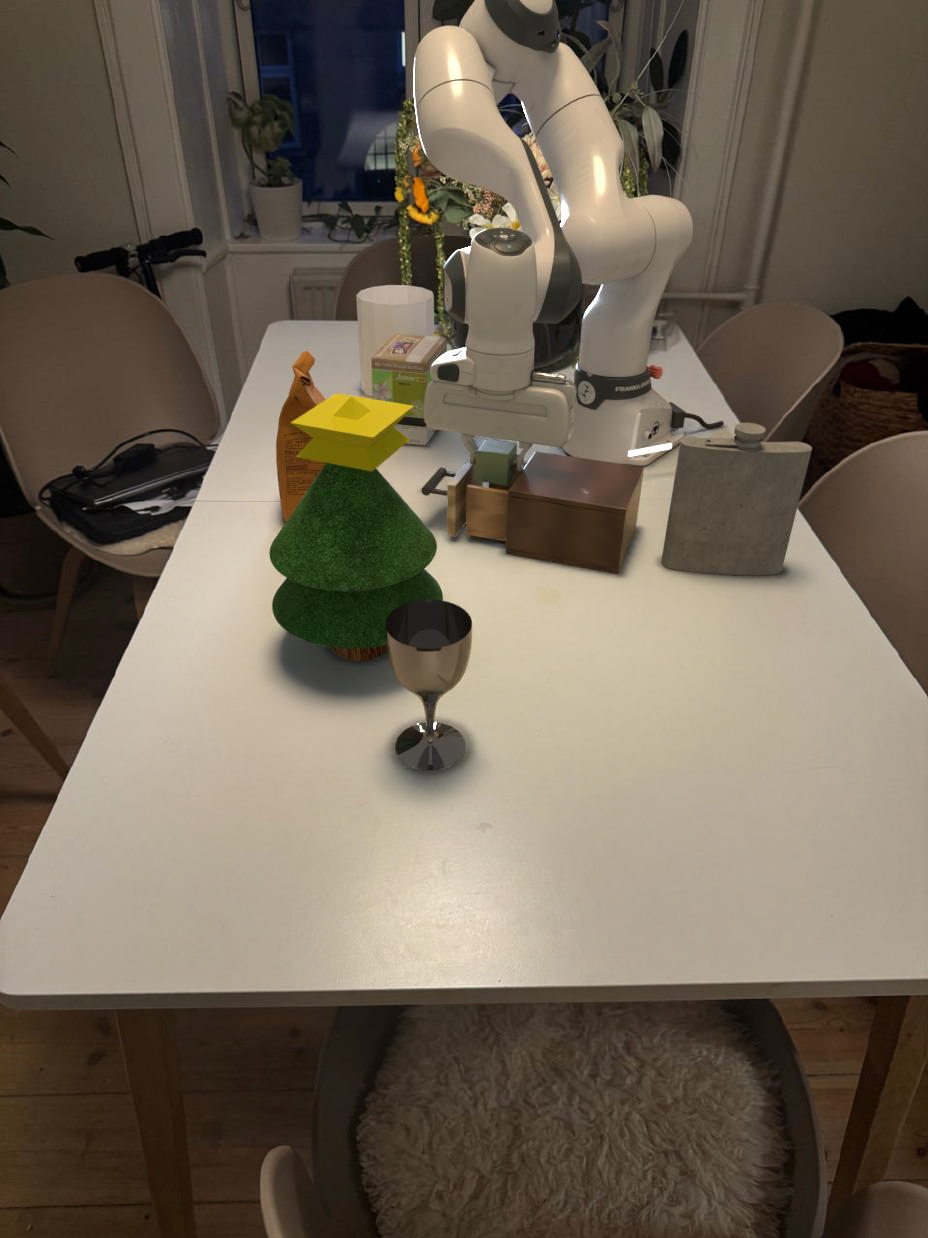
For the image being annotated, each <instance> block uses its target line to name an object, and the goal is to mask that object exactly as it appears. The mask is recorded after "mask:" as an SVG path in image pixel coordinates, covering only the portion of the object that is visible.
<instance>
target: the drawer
mask: <svg viewBox="0 0 928 1238" xmlns="http://www.w3.org/2000/svg"><path fill="white" fill-rule="evenodd" d="M528 461H529V460H524V466H523V469H524V467H525V466H526V464H527V463H528ZM523 469H522V470H523ZM522 470H521V471H522ZM521 471H516V473H515V475H514V476H513V477H512V479H511V480H510V482H509V483H508V484H507V485H500V484H493V483H488V487H485V486H484V482H481V481H476V464H470V457H469V458H468V460H467V461H465V463H464V464H463V465H462V467H461V468H460V469H459V470H458V472H454V471H448V470H447V469H446V468H445V467H443V466H442V467H439V468H438V469H437V470H436V471H435V472H434V474H433V475H432V476H431V477H430V478H429V480H428V481H426V483H425V484H423V486H422V487H421V488H420V492H421V495H423V496H425V497H428V496H430V495H431V494H433V495H439V496H444V497H447V498H446V501H447V503H446V504H447V506H446V507H447V508H446V509H447V512H446V513H447V517H446V519H447V521H446V523H447V525H446V526H447V528H446V530H447V536H449V537H452V538H453V537H457V535H458V534H459V532H460V531H461V529H463V527H464V526H465V535H467V536H474V537H480V538H485V539H491V540H497V541H503V542H506V531H507V507H508V490H509V489H510V487H511V486H512V484H513V483H514V482H515V480H516V479H517V477H518V476H519V474H520V473H521ZM445 477H448V478H451V480H450V481H449V482H448V483H447V485H446V487H447V488H446V489H441V488H437V487H438V486H439V484H440V483H441V482H442V481H443V480H444V478H445Z"/></svg>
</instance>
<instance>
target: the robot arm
mask: <svg viewBox="0 0 928 1238" xmlns="http://www.w3.org/2000/svg"><path fill="white" fill-rule="evenodd" d="M561 40H562V27H561V23H560V20H559V10H558V7H557V3H556V0H474V1H473V2H472V4H471V5H470V6H469V7H468V9H467V11H466V12H465V13H464V15H463V17H462V18H461V20H460V23H459V25H458V26H457V25H442V26H439V27H436V28H434V29H432V30H431V31H429V32H428V33H426V34H425V36H423V38H422V39H421V40H420V41H419V43H418V45H417V46H416V47H417V48H416V50H415V54H414V60H413V61H414V62H413V98H414V99H413V100H414V109H415V116H416V117H415V118H416V124H417V129H418V130H417V131H418V135H419V139H420V143H421V146H422V149H423V151H424V153H425V156H426V158H427V160H428V161H429V162H430V164H431V165H432V166H433V167H434V168H435V169H436V170H438V171H439V172H440V173H442V174H443V175H445V176H446V177H448V178H450V179H452V180H454V181H457V182H460V183H464V184H467V185H472V186H474V187H479V188H481V189H485V190H487V191H489V192H492V193H494V194H496V195H498V196H499V197H501V198H503V199H505V200H506V202H508V203H509V204H510V205H511V206H512V208H513V210H514V212H515V214H516V217H517V219H518V222H519V225H520V229H521V230H522V231H521V230H518V229H513V228H510V227H490V228H486V229H483V230H480V231H479V232H477V233H476V234H474V236H473V237H472V239H471V242H470V246H468V247H464V248H461V249H459V248H458V249H457V250H455V251H454V252H453V253H452V254H451V255H450V256H449V258H448V259H447V260H446V262H445V263H444V264H443V266H442V307H443V310H444V311H445V312H446V313H448V314H449V316H451V318H453V319H454V320H456V321H457V322H458V323H460V324H462V325H463V324H467V325H468V332H467V335H466V336H467V337H466V339H465V347H461V348H457V349H452V350H447V352H446V353H445V354H443V355H442V356H440V357H439V358H438V359H437V360H436V361H435V362H434V363H433V364H432V365H431V367H430V376H431V378H432V379H433V380H432V381H431V382H430V383H429V384H428V386H427V388H426V393H425V401H424V421H425V423H426V424H427V426H428V427H429V428H430V429H435V430H436V431H445V432H450V433H456V434H457V433H458V434H461V442H462V443H463V445H464V447H465V448H466V450H467V451H468V453H469V458H470V464H476V450H477V449H478V448H479V446H478V445H477V442H476V441H475V440H476V439H475V438H476V436H478V437H484V438H490V439H497V440H504V441H511V442H518V449H520V450H521V452H520V453H519V454H518V453H517V454H514V455H513V457H512V458H511V466H510V469H511V470H516V471H521V470H522V469H523V466H524V461H525V456H526V455H527V453H528V452H529V450H530V449H531V448H532V446H533V445H540V446H548V447H555V448H562V449H563V451H564V452H566V454H568V456H571V457H578V458H585V459H591V460H598V461H605V462H612V463H619V464H626V465H633V466H639V467H644V466H648V465H649V464H651V463H652V462H654V461H656V459H658V458H660V457H661V456H663V455H664V454H665V453H668V452H669V451H670V450H672V449H673V448H674V447H676V446H677V445H680V440H681V439H682V438H685V434H684V433H683V432H682V431H681V430H680V429H683V428H684V426H685V421H686V419H690V420H693V421H696V422H697V423H698V424H699V425H700V426H701V427H703V428H704V429H708V430H709V429H711V430H712V429H715V428H719V427H723V426H724V424H725V423H724V420H720V421H716V422H713V423H708V422H706V421H705V420H704V419H703V418H702V417H701V416H699V415H697V414H694V413H689V412H686V411H685V410H684V409H682V408H681V407H679V406H678V405H677V404H675V403H673V402H672V401H669V402H668V401H667V400H666V399H665V398H664V397H663V396H661V395H660V394H659V393H658V392H657V391H656V390H655V389H653V385H652V381H651V378H653V379H655V380H660V379H661V378H662V376H663V374H664V369H663V367H662V366H656V365H655V364H650V365H649V366H648V360H649V353H650V347H651V340H652V333H653V327H654V322H655V319H656V314H657V311H658V308H659V306H660V303H661V300H662V298H663V295H664V292H665V290H666V288H667V285H668V282H669V280H670V278H671V276H672V273H673V272H674V269H675V268H676V266H677V264H678V263H679V262H680V260H681V258H682V257H683V256H685V254H686V253H687V251H688V249H689V248H690V245H691V243H692V240H693V237H694V236H693V235H694V223H693V219H692V215H691V213H690V211H689V208H687V206H686V205H685V203H683V202H682V201H680V200H679V199H676V198H674V197H673V198H672V197H670V196H669V197H668V196H664V195H658V194H648V195H641V196H636V197H631V198H629V197H628V196H627V195H626V193H625V191H624V188H623V186H622V182H621V177H620V167H621V164H622V162H623V160H624V157H625V143H624V141H623V139H622V137H621V135H620V133H619V131H618V128H617V126H616V124H615V122H614V119H613V118H612V116H611V114H610V112H609V109H608V107H607V105H606V102H605V101H604V99H603V97H602V95H601V92H600V91H599V89H598V87H597V85H596V84H595V82H594V80H593V78H592V76H591V74H590V73H589V72H588V70H587V68H586V67H585V66H584V64H583V63H582V61H581V60H580V58H579V57H578V56H577V55H576V53H575V52H574V51H573V49H572V48H571V47H570V46H569V45H567V44H565V43H563V42H561ZM510 92H511V93H512V94H513V95H514V96H515V97H516V98H517V99H518V100H519V101H520V102H521V105H522V108H523V112H524V114H525V117H526V120H527V123H528V126H529V128H530V130H531V133H532V135H533V137H534V139H535V143H536V144H537V145H538V147H539V150H540V152H541V154H542V157H543V159H544V161H545V163H546V165H547V167H548V171H549V172H550V175H551V176H552V179H553V182H554V183H555V187H556V190H557V193H558V198H559V202H560V210H561V211H560V212H561V222H560V221H559V218H558V215H557V212H556V209H555V207H554V204H553V201H552V199H551V196H550V193H549V191H548V188H547V186H546V183H545V180H544V177H543V175H542V172H541V170H540V167H539V164H538V162H537V159H536V157H535V155H534V153H533V151H532V149H531V147H530V144H529V143H528V142H527V141H526V140H525V139H523V138H522V137H521V136H519V135H517V134H516V133H515V132H514V131H513V130H512V129H511V127H510V126H509V125H508V123H506V121H505V120H504V118H503V115H502V114H501V113H500V111H499V109H498V107H499V105H500V102H501V101H502V100H504V98H505V97H506V96H507V95H508V94H509V93H510ZM583 285H596V286H600V288H599V289H598V292H597V295H596V296H595V298H594V299H593V301H592V302H591V303H590V305H588V307H587V308H586V310H585V311H584V314H583V317H582V321H581V327H580V329H581V330H580V340H579V341H580V342H579V352H578V361H577V363H576V364H575V368H574V373H573V377H574V378H573V380H572V379H570V378H568V377H567V375H564V374H562V373H561V374H560V373H555V374H554V373H549V372H543V371H537V370H534V367H535V366H534V365H535V347H536V342H535V336H534V331H533V330H534V329H533V328H534V324H554V325H555V324H556V325H557V324H559V323H560V322H563V320H564V319H565V318H567V317H568V316H569V315H570V314H571V313H572V312H573V311H574V309H576V307H577V306H578V304H579V303H580V301H581V297H582V294H583V293H582V292H583Z"/></svg>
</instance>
